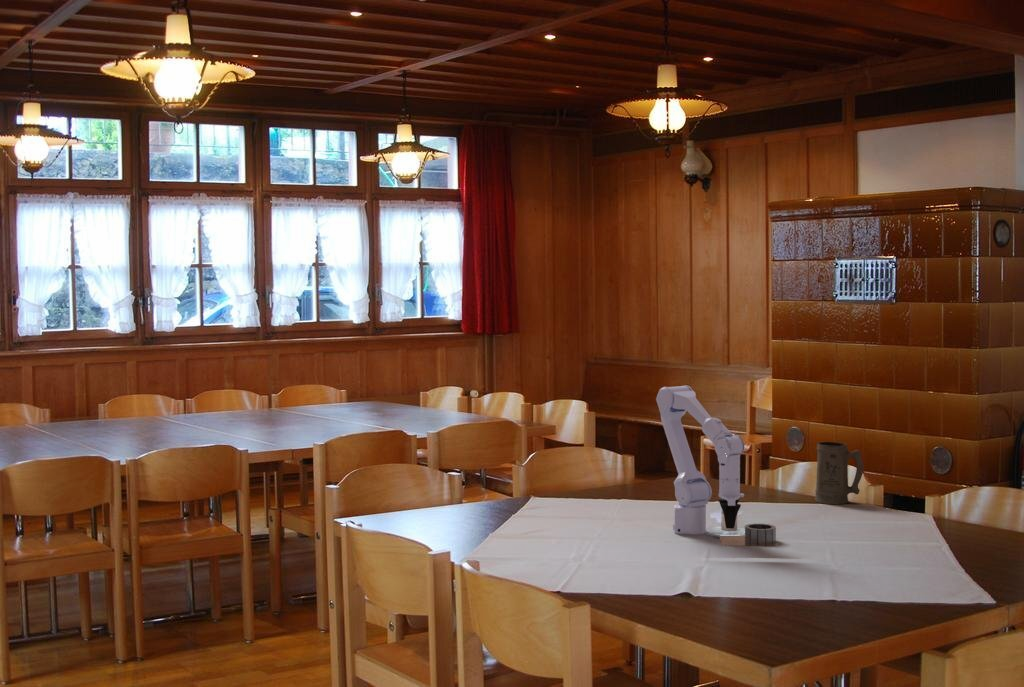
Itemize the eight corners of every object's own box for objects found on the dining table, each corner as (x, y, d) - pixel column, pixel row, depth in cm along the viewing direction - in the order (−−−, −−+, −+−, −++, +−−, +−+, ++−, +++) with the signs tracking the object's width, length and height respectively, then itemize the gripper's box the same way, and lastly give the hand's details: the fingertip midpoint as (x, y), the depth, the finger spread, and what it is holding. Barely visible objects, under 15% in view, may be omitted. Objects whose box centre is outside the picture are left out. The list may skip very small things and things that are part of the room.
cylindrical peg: (722, 531, 326) (722, 513, 325) (720, 527, 330) (720, 510, 330) (737, 531, 325) (738, 513, 325) (736, 528, 330) (736, 510, 329)
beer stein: (811, 503, 386) (816, 443, 384) (813, 497, 396) (817, 439, 394) (860, 508, 381) (864, 448, 380) (860, 502, 391) (864, 444, 390)
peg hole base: (722, 549, 322) (722, 531, 321) (718, 538, 335) (718, 521, 334) (778, 549, 320) (778, 531, 320) (772, 539, 333) (772, 522, 333)
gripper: (746, 483, 319) (746, 532, 320) (741, 474, 334) (741, 521, 334) (720, 482, 320) (720, 531, 321) (716, 474, 334) (716, 520, 335)
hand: (729, 526), depth 328 cm, fingers closed on cylindrical peg, 4 cm apart
